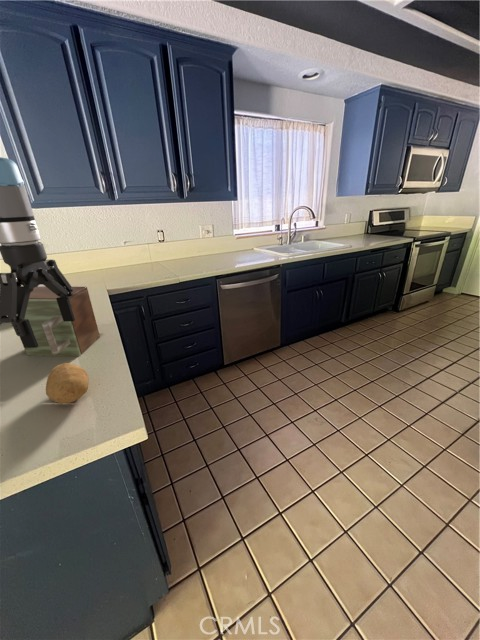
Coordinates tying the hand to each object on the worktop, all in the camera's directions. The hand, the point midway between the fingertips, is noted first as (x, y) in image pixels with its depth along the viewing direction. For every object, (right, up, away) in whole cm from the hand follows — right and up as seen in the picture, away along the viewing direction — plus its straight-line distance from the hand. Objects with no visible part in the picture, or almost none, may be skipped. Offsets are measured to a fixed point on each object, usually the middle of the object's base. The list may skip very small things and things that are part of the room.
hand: (52, 332), depth 64 cm
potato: (+1, -17, +6) cm, 18 cm away
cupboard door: (-17, -10, +21) cm, 29 cm away
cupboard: (-16, -6, +30) cm, 35 cm away
